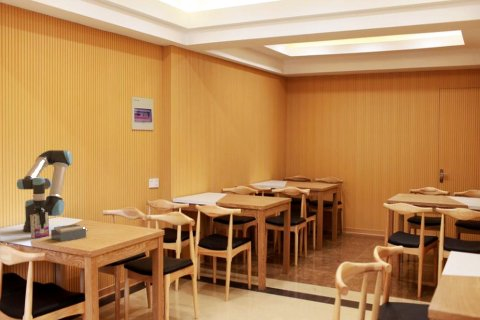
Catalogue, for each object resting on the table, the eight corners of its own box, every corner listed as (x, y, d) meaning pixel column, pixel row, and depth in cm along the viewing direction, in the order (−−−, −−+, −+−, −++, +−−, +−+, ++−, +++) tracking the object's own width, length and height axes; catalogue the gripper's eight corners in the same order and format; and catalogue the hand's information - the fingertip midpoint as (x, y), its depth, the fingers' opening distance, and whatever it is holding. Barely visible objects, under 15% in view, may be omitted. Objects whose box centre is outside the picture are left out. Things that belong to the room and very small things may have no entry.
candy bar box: (44, 234, 323) (44, 211, 322) (49, 235, 320) (48, 212, 319) (30, 237, 313) (29, 214, 312) (34, 238, 311) (34, 214, 310)
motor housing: (51, 238, 311) (51, 226, 311) (82, 233, 328) (82, 222, 328) (60, 241, 302) (60, 229, 301) (92, 236, 319) (92, 224, 318)
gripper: (27, 198, 319) (28, 231, 320) (39, 201, 306) (40, 235, 307) (38, 197, 325) (39, 229, 326) (50, 200, 312) (51, 233, 313)
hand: (39, 232), depth 317 cm, fingers open, 6 cm apart
